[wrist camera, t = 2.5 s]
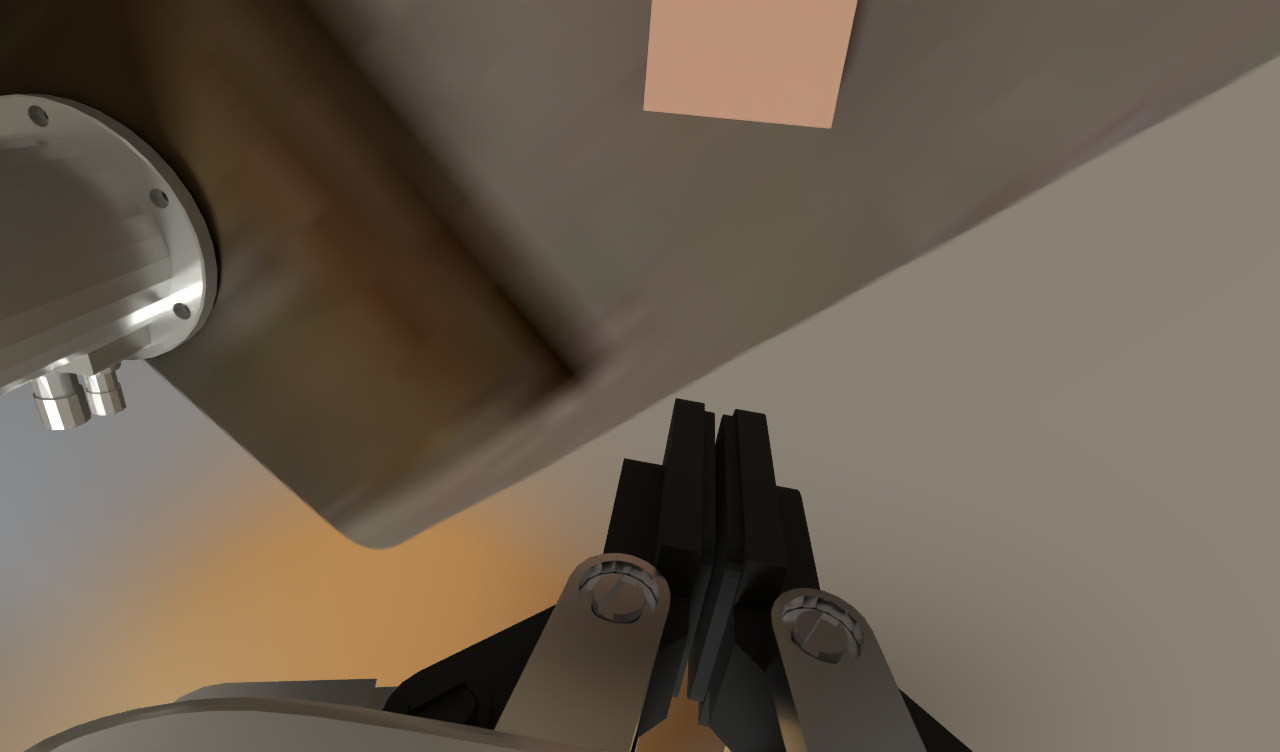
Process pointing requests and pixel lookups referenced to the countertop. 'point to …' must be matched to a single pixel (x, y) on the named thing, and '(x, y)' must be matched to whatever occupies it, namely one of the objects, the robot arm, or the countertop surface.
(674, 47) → the tile
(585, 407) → the countertop surface
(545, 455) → the countertop surface
